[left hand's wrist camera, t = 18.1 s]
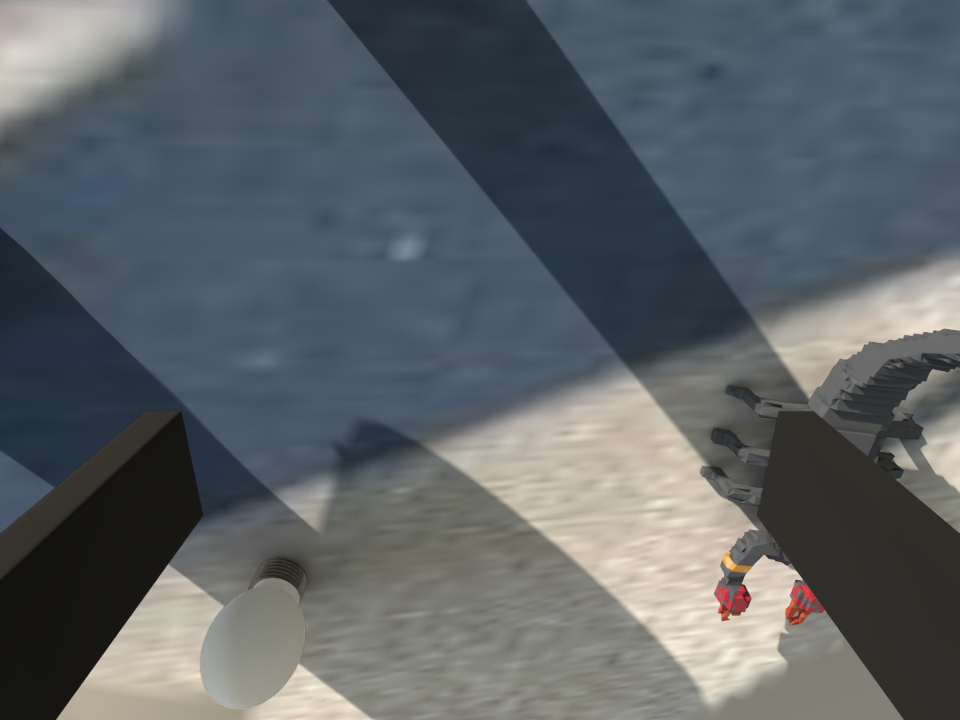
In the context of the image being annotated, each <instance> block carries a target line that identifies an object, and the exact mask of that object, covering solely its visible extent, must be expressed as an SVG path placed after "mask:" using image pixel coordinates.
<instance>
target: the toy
mask: <svg viewBox="0 0 960 720" xmlns="http://www.w3.org/2000/svg"><path fill="white" fill-rule="evenodd" d="M956 367H960V331H957V330H950V329H943V330H940V331H933V333H927V332H924V333H923V335H920V334H914V335H913V336H907V335H905V336H904V338H903V339H901V338H899V339H897V340H896V341H895V340H889V341H888V342H887V343H884V344H883V343H876V342H869V343H868V345H865V344H864V347H863V349H862V352H858V353H857V355H854V354H853V355H852V357H851V358H849V359H847V360H843V359H840V360H839V361H838V362H837V364H836V365H835V366H834V367H833V368H832V370H831V372H830V374H829V375H828V377H827V378H826V380H825V381H824V383H823V385H822V386H821V387H817V389H816V390H815V392H814V393H813V395H812V397H811V398H810V400H809V401H808V403H807V404H796V403H784V402H780V401H775V400H769V399H764V398H760V397H758V396H756V395H755V394H754V393H753V392H752V391H751V390H749V389H748V388H744V387H736V386H728V388H727V391H726V393H727V394H730V395H732V396H734V397H736V398H739V399H742V400H744V401H745V402H746V403H747V404H748V405H749V406H750V407H751V408H752V409H753V410H754V411H755V414H756V415H757V416H758V417H762V418H772V419H776V420H777V417H778V412H779V411H814V412H815V413H817V414H818V415H819V416H820V417H821V418H823V419H824V420H825V421H826V422H827V423H829V424H830V425H831V426H832V427H833V428H834V429H836V430H837V431H838V432H839V433H840V434H842V435H843V436H844V437H845V438H846V439H848V440H849V441H850V442H851V443H852V444H854V445H855V446H856V447H857V448H858V449H860V450H861V451H862V452H863V453H864V454H865V455H867V456H868V457H869V458H870V459H871V460H873V461H874V462H875V463H876V464H877V465H879V466H880V467H881V468H882V469H883V470H885V471H886V472H887V473H888V474H889V475H891V476H892V477H893V478H894V479H897V478H901V476H902V474H903V471H904V470H903V469H901V468H900V467H899V466H898V465H896V464H895V463H894V462H893V461H891V460H892V459H893V458H894V457H895V456H894V455H893V454H892V453H891V452H889V451H887V450H881V448H882V445H883V443H884V441H885V438H886V437H894V438H905V439H919V437H920V435H921V433H922V430H923V427H921V426H919V425H918V424H916V423H914V422H913V421H911V418H912V416H913V415H914V414H913V413H912V412H911V411H910V410H908V409H904V408H896V407H895V406H897V407H898V406H899V404H900V402H901V401H902V400H905V399H906V397H907V394H908V392H909V391H910V390H912V389H914V388H915V387H916V386H917V385H918V384H921V382H922V381H926V380H927V377H928V375H929V373H930V371H931V370H932V369H935V370H940V371H945V372H949V371H950V369H955V368H956ZM711 440H712V441H713V443H716V444H720V445H723V446H727V447H729V448H730V449H731V450H733V451H734V452H735V454H736V455H737V456H738V457H739V458H740V459H741V460H742V461H743V462H745V463H746V464H752V465H759V466H766V467H767V465H768V460H769V455H770V450H765V449H760V448H754V447H750V446H745V445H743V443H741V442H740V440H739V439H738V438H737V436H736V435H735V434H734V433H732V432H731V431H729V430H721V429H714V431H713V434H712V437H711ZM700 473H701V475H702V477H706V478H710V479H713V480H716V482H717V483H718V485H719V486H720V487H721V489H722V490H723V492H724V493H725V494H726V496H727V497H728V499H729V500H730V501H734V502H739V503H743V504H749V505H755V506H759V503H760V498H761V493H762V489H763V488H757V487H754V486H750V485H745V484H739V483H734V482H733V481H732V480H731V479H729V478H728V477H727V476H726V474H725V473H724V472H723V470H722V469H721V468H714V467H706V466H702V468H701V471H700ZM763 555H766V556H767V557H768V558H769V559H774V560H775V561H778V562H782V563H784V564H785V565H788V564H790V563H791V562H790V561H789V559H788V558H787V557H786V555H785V554H784V552H783V551H782V550H781V548H780V547H779V546H778V544H777V543H776V541H775V540H774V539H773V537H772V536H771V534H769V533H768V532H762V531H756V530H749V531H748V532H745V534H744V536H743V538H742V539H739V538H738V540H737V542H736V544H735V546H734V547H732V549H731V550H730V551H729V552H728V554H724V557H723V560H722V562H721V565H720V567H721V568H722V570H723V572H724V578H722V580H721V581H719V583H718V585H717V588H716V590H715V593H714V595H715V596H716V598H717V599H718V601H719V602H720V604H721V605H720V608H719V611H718V613H721V618H722V621H726V620H730V619H728V616H729V615H730V614H731V613H732V615H740V614H741V612H745V611H746V608H748V606H749V603H750V601H751V596H750V594H749V592H748V591H747V589H746V587H745V585H742V581H743V579H744V577H745V574H746V573H747V572H748V571H749V570H750V569H751V568H752V566H753V565H754V564H755V563H756V562H757V561H758V560H759V559H760V558H761V557H762V556H763ZM790 597H791V598H792V600H791V603H790V606H789V607H788V608H787V609H786V612H785V615H786V619H788V618H789V621H790V625H796V624H799V623H801V622H802V621H803V620H804V619H805V618H806V617H807V615H809V614H810V613H812V612H818V613H823V611H824V608H823V607H822V605H821V604H820V602H819V601H818V600H817V598H816V597H815V595H814V594H813V593H812V591H811V590H810V589H809V587H808V586H807V584H806V583H805V582H804V580H803V581H800V580H795V584H794V587H793V589H792V592H791V594H790ZM797 611H799V613H798V616H796V617H792V616H793V615H794V614H795V613H796V612H797Z"/></svg>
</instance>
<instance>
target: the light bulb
mask: <svg viewBox="0 0 960 720" xmlns="http://www.w3.org/2000/svg"><path fill="white" fill-rule="evenodd" d="M306 584H307V578H306V575H305V573H304V572H303V571H302V570H301V569H300V568H299V567H298V566H297V565H295V564H293V563H291V562H289V561H285V560H279V559H276V560H269V561H266V562H264V563H263V564H262V565H260V567H259V568H258V570H257V572H256V574H255V576H254V578H253V580H252V582H251V584H250V586H249V588H248V591H245V592H243V593H241V594H240V595H238V596H237V597H235V598H234V599H232V600H231V601H230V602H229V603H228V604H227V605H226V606H225V607H224V608H223V609H222V610H221V611H220V612H219V613H218V615H217V616H216V618H215V619H214V621H213V622H212V624H211V626H210V627H209V629H208V631H207V634H206V636H205V638H204V642H203V646H202V650H201V655H200V673H201V677H202V682H203V685H204V687H205V689H206V691H207V692H208V694H209V695H210V697H211V698H212V699H213V700H214V701H215V702H217V703H218V704H220V705H222V706H224V707H227V708H231V709H248V708H251V707H254V706H257V705H260V704H262V703H264V702H266V701H267V700H269V699H270V698H271V697H273V696H274V695H275V694H276V693H278V692H279V691H280V690H281V689H282V688H283V687H284V685H285V684H286V683H287V682H288V680H289V679H290V677H291V676H292V674H293V673H294V671H295V670H296V668H297V665H298V663H299V661H300V658H301V655H302V652H303V648H304V644H305V631H306V627H305V621H304V616H303V612H302V610H301V608H300V606H299V604H300V601H301V598H302V596H303V593H304V590H305V588H306Z"/></svg>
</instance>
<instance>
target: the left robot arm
mask: <svg viewBox="0 0 960 720" xmlns="http://www.w3.org/2000/svg"><path fill="white" fill-rule="evenodd" d="M202 516H203V513H202V508H201V503H200V498H199V493H198V489H197V484H196V479H195V474H194V470H193V465H192V460H191V455H190V450H189V446H188V441H187V436H186V431H185V427H184V422H183V417H182V412H181V411H146V412H145V413H143V414H142V415H141V416H140V417H139V418H137V419H136V420H135V421H134V422H133V423H131V424H130V425H129V426H128V427H127V428H126V429H124V430H123V431H122V432H121V433H120V434H118V435H117V436H116V437H115V438H114V439H112V440H111V441H110V442H109V443H108V444H106V445H105V446H104V447H103V448H102V449H100V450H99V451H98V452H97V453H96V454H95V455H93V456H92V457H91V458H90V459H89V460H87V461H86V462H85V463H84V464H83V465H81V466H80V467H79V468H78V469H77V470H75V471H74V472H73V473H72V474H71V475H69V476H68V477H67V478H66V479H65V480H64V481H62V482H61V483H60V484H59V485H58V486H56V487H55V488H54V489H53V490H52V491H50V492H49V493H48V494H47V495H46V496H44V497H43V498H42V499H41V500H40V501H38V502H37V503H36V504H35V505H34V506H33V507H31V508H30V509H29V510H28V511H27V512H25V513H24V514H23V515H22V516H21V517H19V518H18V519H17V520H16V521H15V522H13V523H12V524H11V525H10V526H9V527H7V528H6V529H5V530H4V531H3V532H1V533H0V720H56V719H57V718H58V716H59V715H60V713H61V712H62V711H63V709H64V708H65V706H66V705H67V704H68V702H69V701H70V700H71V698H72V697H73V695H74V694H75V693H76V691H77V690H78V688H79V687H80V686H81V684H82V683H83V682H84V680H85V679H86V677H87V676H88V675H89V673H90V672H91V670H92V669H93V668H94V666H95V665H96V663H97V662H98V661H99V659H100V658H101V657H102V655H103V654H104V652H105V651H106V650H107V648H108V647H109V645H110V644H111V643H112V641H113V640H114V639H115V637H116V636H117V634H118V633H119V632H120V630H121V629H122V627H123V626H124V625H125V623H126V622H127V620H128V619H129V618H130V616H131V615H132V614H133V612H134V611H135V609H136V608H137V607H138V605H139V604H140V602H141V601H142V600H143V598H144V597H145V595H146V594H147V593H148V591H149V590H150V589H151V587H152V586H153V584H154V583H155V582H156V580H157V579H158V577H159V576H160V575H161V573H162V572H163V571H164V569H165V568H166V566H167V565H168V564H169V562H170V561H171V559H172V558H173V557H174V555H175V554H176V552H177V551H178V550H179V548H180V547H181V546H182V544H183V543H184V541H185V540H186V539H187V537H188V536H189V534H190V533H191V532H192V530H193V529H194V527H195V526H196V525H197V523H198V522H199V521H200V519H201V518H202ZM757 516H758V518H759V519H760V521H761V522H762V523H763V525H764V526H765V527H766V529H767V530H768V532H769V533H770V534H771V536H772V537H773V539H774V540H775V541H776V543H777V544H778V546H779V547H780V548H781V550H782V551H783V552H784V554H785V555H786V557H787V558H788V559H789V561H790V562H791V564H792V565H793V566H794V568H795V569H796V571H797V572H798V573H799V575H800V576H801V577H802V579H803V580H804V582H805V583H806V584H807V586H808V587H809V589H810V590H811V591H812V593H813V594H814V595H815V597H816V598H817V600H818V601H819V602H820V604H821V605H822V607H823V608H824V609H825V611H826V612H827V614H828V615H829V616H830V618H831V619H832V620H833V622H834V623H835V625H836V626H837V627H838V629H839V630H840V632H841V633H842V634H843V636H844V637H845V639H846V640H847V641H848V643H849V644H850V645H851V647H852V648H853V650H854V651H855V652H856V654H857V655H858V657H859V658H860V659H861V661H862V662H863V663H864V665H865V666H866V668H867V669H868V670H869V672H870V673H871V675H872V676H873V677H874V679H875V680H876V681H877V683H878V684H879V686H880V687H881V688H882V690H883V691H884V693H885V694H886V695H887V697H888V698H889V700H890V701H891V702H892V704H893V705H894V706H895V708H896V709H897V711H898V712H899V713H900V715H901V716H902V718H903V719H904V720H960V533H959V532H957V531H956V530H955V529H954V528H953V527H951V526H950V525H949V524H948V523H947V522H945V521H944V520H943V519H942V518H941V517H939V516H938V515H937V514H936V513H935V512H933V511H932V510H931V509H930V508H929V507H927V506H926V505H925V504H924V503H923V502H922V501H920V500H919V499H918V498H917V497H916V496H914V495H913V494H912V493H911V492H910V491H908V490H907V489H906V488H905V487H904V486H902V485H901V484H900V483H899V482H898V481H896V480H895V479H894V478H893V477H892V476H891V475H889V474H888V473H887V472H886V471H885V470H883V469H882V468H881V467H880V466H879V465H877V464H876V463H875V462H874V461H873V460H871V459H870V458H869V457H868V456H867V455H865V454H864V453H863V452H862V451H861V450H860V449H858V448H857V447H856V446H855V445H854V444H852V443H851V442H850V441H849V440H848V439H846V438H845V437H844V436H843V435H842V434H840V433H839V432H838V431H837V430H836V429H834V428H833V427H832V426H831V425H830V424H829V423H827V422H826V421H825V420H824V419H823V418H821V417H820V416H819V415H818V414H817V413H815V412H814V411H779V412H778V417H777V422H776V427H775V431H774V436H773V441H772V446H771V450H770V455H769V460H768V465H767V470H766V474H765V479H764V484H763V489H762V493H761V498H760V503H759V508H758V513H757Z"/></svg>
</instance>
